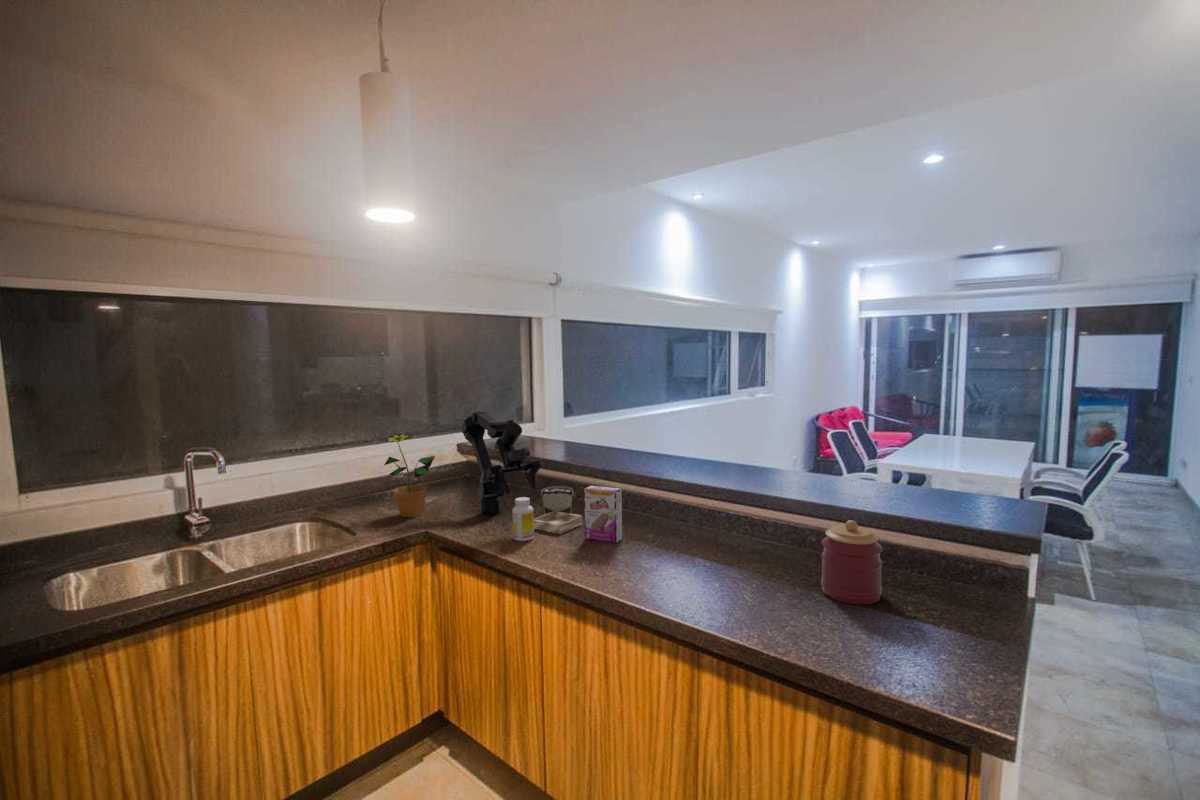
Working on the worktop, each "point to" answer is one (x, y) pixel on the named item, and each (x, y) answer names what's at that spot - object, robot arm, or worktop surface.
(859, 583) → the canister
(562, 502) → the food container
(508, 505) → the worktop surface
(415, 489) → the potted plant
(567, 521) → the box
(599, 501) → the candy bar box
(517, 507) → the supplement bottle
